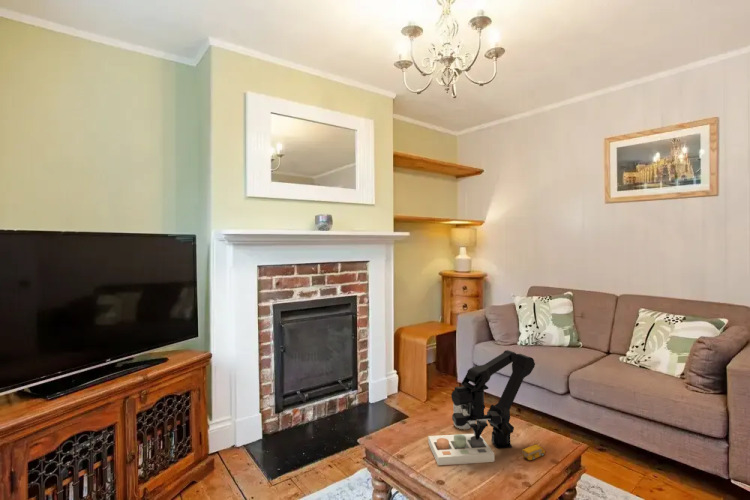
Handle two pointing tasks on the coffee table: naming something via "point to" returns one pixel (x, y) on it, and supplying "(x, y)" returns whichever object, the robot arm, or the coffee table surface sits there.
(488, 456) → the panel
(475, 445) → the charcoal button
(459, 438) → the sage button
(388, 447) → the coffee table surface
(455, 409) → the supplement can
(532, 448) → the toy bus
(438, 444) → the rust button
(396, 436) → the coffee table surface
